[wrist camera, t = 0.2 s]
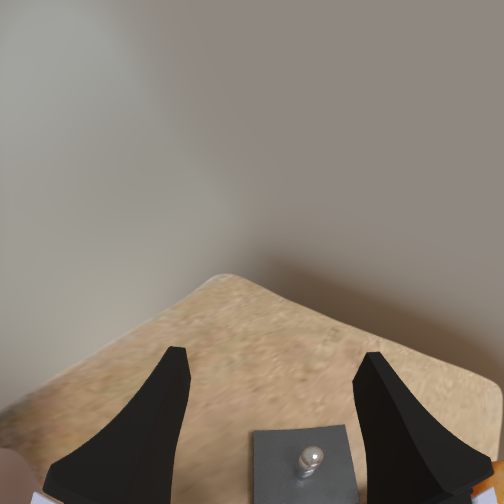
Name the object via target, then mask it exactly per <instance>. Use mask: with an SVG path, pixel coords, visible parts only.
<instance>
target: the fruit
mask: <svg viewBox="0 0 504 504" xmlns="http://www.w3.org/2000/svg"><path fill="white" fill-rule="evenodd" d="M492 466H493V469H494V472H495V473H494V475H492V476H491V477H489V478H488V479H486V480H484V481H483V482H481V483H479V484H477V485H476V486H474V487H473V490H474V492H473V494H471V495H470V496H471V498H472V497H474V496H476V495H478V494H480V493H481V492H483V491H485V490H487V489H489V488H490V487H494V490H495V495H496V499H497V503H498V504H504V461H495V462H492Z"/></svg>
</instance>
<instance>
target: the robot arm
mask: <svg viewBox="0 0 504 504" xmlns="http://www.w3.org/2000/svg"><path fill="white" fill-rule="evenodd" d="M190 382H191V375H190V370H189V365H188V360H187V354H186V349H185V348H182V347H173V346H170V347H169V348H168V349H167V350H166V352H165V354H164V355H163V357H162V358H161V360H160V362H159V363H158V365H157V366H156V367H155V369H154V370H153V372H152V373H151V375H150V376H149V377H148V379H147V380H146V381H145V383H144V384H143V385H142V387H141V388H140V389H139V391H138V392H137V393H136V394H135V395H134V397H133V398H132V399H131V400H130V401H129V403H128V404H127V405H126V406H125V407H124V408H123V409H122V411H121V412H120V413H119V414H118V415H117V416H116V417H115V418H114V419H113V420H112V421H111V422H110V423H109V424H107V425H106V426H105V427H104V428H103V429H102V430H101V431H100V432H99V433H97V434H96V435H95V436H94V437H93V438H91V439H90V440H89V441H87V442H86V443H85V444H83V445H82V446H80V447H79V448H78V449H76V450H75V451H73V452H72V453H70V454H69V455H67V456H65V457H63V458H62V459H60V460H58V461H57V462H55V463H53V464H52V465H51V466H50V469H49V470H48V473H47V476H46V479H45V482H44V486H43V489H42V490H43V492H44V493H46V494H48V495H50V496H52V497H53V498H55V499H57V500H59V501H61V502H63V503H64V504H170V499H171V485H172V474H173V465H174V457H175V451H176V446H177V441H178V437H179V433H180V429H181V426H182V422H183V418H184V414H185V410H186V406H187V402H188V397H189V390H190ZM352 383H353V393H354V401H355V406H356V410H357V415H358V419H359V423H360V428H361V432H362V436H363V441H364V446H365V452H366V463H367V504H498V503H497V499H496V495H495V490H494V487H490V488H489V489H487V490H485V491H483V492H481V493H480V494H478V495H476V496H474V497H472V498H471V496H470V495H471V494H473V492H474V490H473V487H474V486H476V485H477V484H479V483H481V482H483V481H484V480H486V479H488V478H489V477H491V476H492V475H494V473H495V472H494V469H493V466H492V462H491V459H490V457H488V456H486V455H484V454H482V453H480V452H479V451H477V450H475V449H473V448H472V447H470V446H469V445H467V444H465V443H464V442H462V441H461V440H460V439H458V438H457V437H456V436H454V435H453V434H452V433H451V432H449V431H448V430H447V429H446V428H445V427H443V426H442V425H441V424H440V423H439V422H438V421H437V420H436V419H435V418H434V417H433V416H432V415H431V414H430V413H429V412H428V411H427V410H426V409H425V408H424V407H423V406H422V405H421V403H420V402H419V401H418V400H417V399H416V398H415V397H414V395H413V394H412V393H411V392H410V390H409V389H408V388H407V387H406V385H405V384H404V383H403V382H402V380H401V379H400V378H399V376H398V375H397V374H396V372H395V371H394V370H393V369H392V367H391V366H390V365H389V363H388V362H387V361H386V359H385V358H384V357H383V355H382V354H381V353H380V352H367V353H366V355H365V357H364V359H363V361H362V363H361V365H360V367H359V369H358V371H357V373H356V375H355V377H354V379H353V381H352ZM31 504H61V503H58V502H55V501H53V500H51V499H49V498H47V497H45V496H43V495H41V494H39V493H38V492H34V494H33V497H32V500H31Z"/></svg>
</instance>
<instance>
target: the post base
mask: <svg viewBox="0 0 504 504" xmlns="http://www.w3.org/2000/svg"><path fill="white" fill-rule="evenodd" d="M253 464H254V504H358V503H360V500H359V494H358V489H357V483H356V478H355V472H354V467H353V462H352V457H351V452H350V447H349V442H348V437H347V433H346V428H345V424H344V425H336V426H328V427H319V428H308V429H294V430H270V431H254V432H253Z"/></svg>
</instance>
